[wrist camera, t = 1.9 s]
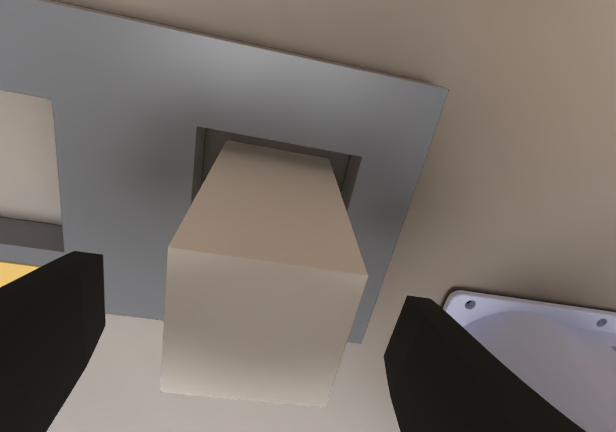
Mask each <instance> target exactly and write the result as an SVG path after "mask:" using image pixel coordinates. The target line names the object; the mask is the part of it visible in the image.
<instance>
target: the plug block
mask: <svg viewBox="0 0 616 432" xmlns="http://www.w3.org/2000/svg"><path fill="white" fill-rule="evenodd" d="M367 278H368V274H367V271H366V268H365V265H364V262H363V259H362V256H361V253H360V250H359V247H358V244H357V241H356V238H355V235H354V232H353V229H352V226H351V223H350V220H349V217H348V214H347V211H346V208H345V205H344V202H343V199H342V196H341V193H340V190H339V187H338V184H337V181H336V178H335V175H334V172H333V169H332V166H331V163H330V160H329V159H328V158H322V157H317V156H311V155H306V154H300V153H295V152H289V151H284V150H278V149H273V148H267V147H262V146H257V145H251V144H246V143H240V142H235V141H229V140H227V141H226V142H225V144H224V146H223V148H222V150H221V151H220V153H219V155H218V157H217V159H216V161H215V162H214V164H213V166H212V168H211V170H210V172H209V173H208V175H207V177H206V179H205V181H204V182H203V184H202V186H201V188H200V190H199V192H198V193H197V195H196V197H195V199H194V201H193V203H192V204H191V206H190V208H189V210H188V212H187V213H186V215H185V217H184V219H183V221H182V223H181V224H180V226H179V228H178V230H177V232H176V233H175V235H174V237H173V239H172V241H171V243H170V244H169V246H168V255H167V274H166V292H165V311H164V330H163V349H162V367H161V386H160V392H164V393H174V394H185V395H196V396H206V397H217V398H228V399H238V400H249V401H260V402H270V403H281V404H292V405H302V406H313V407H323V408H326V405H327V402H328V399H329V396H330V392H331V389H332V386H333V383H334V380H335V377H336V374H337V371H338V368H339V365H340V362H341V358H342V355H343V352H344V349H345V346H346V343H347V340H348V337H349V334H350V331H351V328H352V325H353V321H354V318H355V315H356V312H357V309H358V306H359V303H360V300H361V297H362V294H363V291H364V287H365V284H366V281H367Z"/></svg>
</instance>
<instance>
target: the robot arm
mask: <svg viewBox="0 0 616 432" xmlns="http://www.w3.org/2000/svg"><path fill="white" fill-rule="evenodd" d="M471 300H472V301H471ZM468 301H471V302H470V303H468V304H466V302H468ZM104 327H105V296H104V265H103V255H102V254H95V253H87V252H80V251H73V252H70V253H68V254H66V255H64V256H62V257H59V258H57V259H55V260H53V261H51V262H49V263H47V264H45V265H43V266H41V267H39V268H37V269H35V270H34V271H32V272H30V273H28V274H26V275H24V276H22V277H20V278H18V279H16V280H14V281H12V282H10V283H8V284H6V285H4V286H2V287H0V432H46V431H47V430H48V428H49V426H50V425H51V423H52V422H53V420H54V418H55V417H56V415H57V414H58V412H59V410H60V409H61V407H62V406H63V404H64V402H65V401H66V399H67V398H68V396H69V394H70V393H71V391H72V389H73V388H74V386H75V384H76V383H77V381H78V380H79V378H80V376H81V375H82V373H83V371H84V370H85V368H86V366H87V364H88V362H89V360H90V358H91V356H92V354H93V352H94V349H95V347H96V345H97V343H98V341H99V338H100V336H101V334H102V332H103V329H104ZM384 360H385V367H386V374H387V380H388V386H389V391H390V396H391V400H392V404H393V407H394V410H395V414H396V417H397V421H398V424H399V428H400V431H401V432H616V312H610V311H603V310H596V309H589V308H582V307H575V306H568V305H561V304H554V303H547V302H540V301H533V300H526V299H519V298H512V297H505V296H498V295H491V294H484V293H477V292H470V291H463V290H457V291H454V292H452V293H451V294H450V295H449V296H448V298H447V300H446V302H445V305H444V307H443V309H442V308H441V307H440V306H439V305H438V304H436V303H435V302H434V301H433V300H431V299H429V298H422V297H414V296H407V298H406V300H405V303H404V305H403V308H402V310H401V313H400V316H399V318H398V321H397V323H396V326H395V328H394V331H393V334H392V336H391V339H390V341H389V344H388V346H387V349H386V352H385V354H384Z"/></svg>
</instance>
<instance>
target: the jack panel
mask: <svg viewBox="0 0 616 432" xmlns="http://www.w3.org/2000/svg"><path fill="white" fill-rule="evenodd" d="M0 90H4V91H9V92H14V93H20V94H25V95H31V96H36V97H41V98H47V99H52V104H53V116H54V129H55V141H56V153H57V165H58V178H59V190H60V202H61V214H62V226H59V225H52V224H45V223H38V222H31V221H24V220H17V219H10V218H3V217H0V287H2V286H4V285H6V284H8V283H10V282H12V281H14V280H16V279H18V278H20V277H22V276H24V275H26V274H28V273H30V272H32V271H34V270H35V269H37V268H39V267H41V266H43V265H45V264H47V263H49V262H51V261H53V260H55V259H57V258H59V257H62V256H64V255H66V254H68V253H70V252H73V251H80V252H87V253H95V254H102V255H103V265H104V296H105V314H113V315H122V316H130V317H139V318H147V319H156V320H164V311H165V292H166V274H167V255H168V246H169V244H170V243H171V241H172V239H173V237H174V235H175V233H176V232H177V230H178V228H179V226H180V224H181V223H182V221H183V219H184V217H185V215H186V213H187V212H188V210H189V208H190V206H191V204H192V203H193V201H194V199H195V197H196V195H197V193H198V192H199V190H200V188H201V178H202V167H203V155H204V144H205V133H206V128H209V129H214V130H219V131H225V132H230V133H236V134H241V135H246V136H252V137H257V138H262V139H268V140H273V141H279V142H284V143H289V144H295V145H300V146H306V147H311V148H316V149H322V150H327V151H333V152H338V153H343V154H349V155H351V156H350V160H349V163H348V167H347V171H346V175H345V179H344V183H343V187H342V191H341V196H342V199H343V202H344V205H345V208H346V211H347V214H348V217H349V220H350V223H351V226H352V229H353V232H354V235H355V238H356V241H357V244H358V247H359V250H360V253H361V256H362V259H363V262H364V265H365V268H366V271H367V274H368V278H367V281H366V284H365V287H364V291H363V294H362V297H361V300H360V303H359V306H358V309H357V312H356V315H355V318H354V321H353V325H352V328H351V331H350V334H349V337H348V340H347V342H351V343H360V344H361V343H362V340H363V337H364V334H365V331H366V328H367V326H368V323H369V320H370V317H371V314H372V311H373V308H374V305H375V302H376V300H377V297H378V294H379V291H380V288H381V285H382V282H383V279H384V276H385V274H386V271H387V268H388V265H389V262H390V259H391V256H392V253H393V251H394V248H395V245H396V242H397V239H398V236H399V233H400V230H401V227H402V225H403V222H404V219H405V216H406V213H407V210H408V207H409V204H410V201H411V199H412V196H413V193H414V190H415V187H416V184H417V181H418V178H419V175H420V173H421V170H422V167H423V164H424V161H425V158H426V155H427V152H428V149H429V147H430V144H431V141H432V138H433V135H434V132H435V129H436V126H437V124H438V121H439V118H440V115H441V112H442V109H443V106H444V103H445V100H446V98H447V95H448V92H449V89H446V88H444V87H441V86H438V85H435V84H433V83H429V82H425V81H420V80H416V79H411V78H407V77H402V76H397V75H393V74H388V73H384V72H379V71H374V70H370V69H365V68H361V67H356V66H351V65H347V64H342V63H338V62H333V61H328V60H324V59H319V58H315V57H310V56H306V55H301V54H296V53H292V52H287V51H283V50H278V49H273V48H269V47H264V46H260V45H255V44H250V43H246V42H241V41H237V40H232V39H228V38H223V37H218V36H214V35H209V34H205V33H200V32H195V31H191V30H186V29H182V28H177V27H172V26H168V25H163V24H159V23H154V22H150V21H145V20H140V19H136V18H131V17H127V16H122V15H117V14H113V13H108V12H104V11H99V10H94V9H90V8H85V7H81V6H76V5H71V4H67V3H62V2H58V1H53V0H0Z"/></svg>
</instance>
